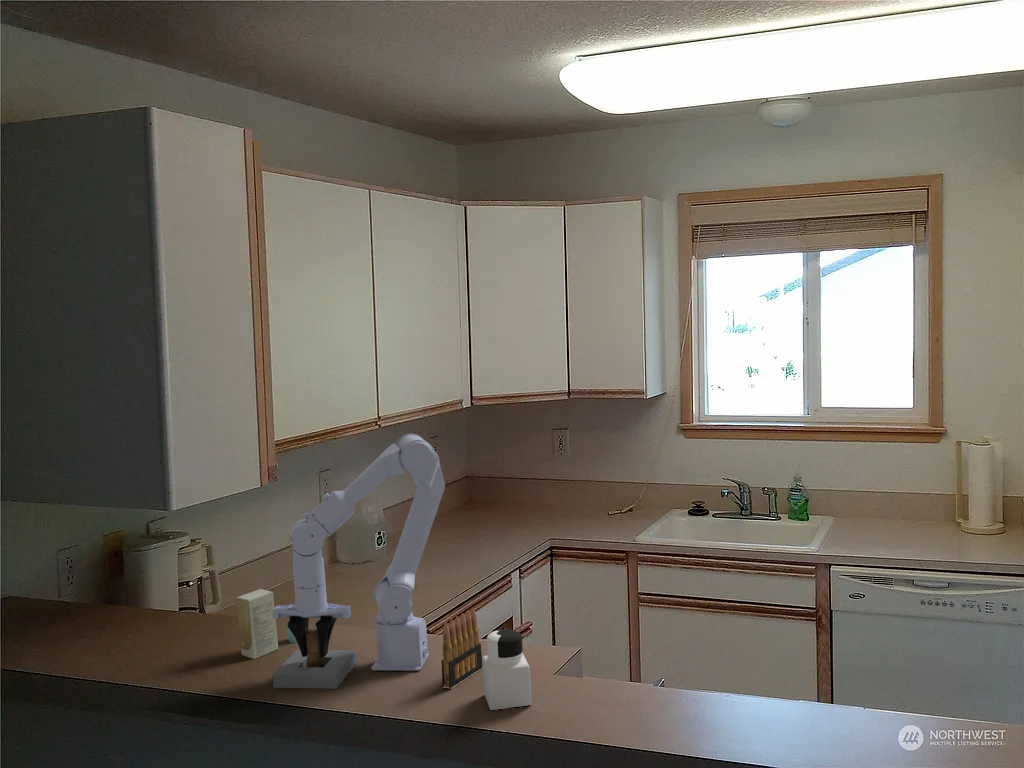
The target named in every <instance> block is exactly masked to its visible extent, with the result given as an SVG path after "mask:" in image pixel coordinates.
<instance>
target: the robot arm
mask: <svg viewBox="0 0 1024 768" xmlns="http://www.w3.org/2000/svg"><path fill="white" fill-rule="evenodd" d="M404 468H405V469H406V470H407V471H408V472H409V473H410V476H411V477H412V480H413V481H414V483H415V485H416V487H417V488H416V492H415V494H414V497H413V500H412V503H411V505H410V509H409V512H408V514H407V517H406V520H405V523H404V526H403V528H402V532H401V535H400V537H399V540H398V544H397V546H396V549H395V551H394V552H395V553H394V555H393V558H392V561H391V563H390V565H389V566H388V568H387V569H386V571H385V573H384V575H383V577H382V579H381V580H380V581H379V582H378V583H377V585H376V586H375V588H374V591H373V598H374V601H375V603H376V605H377V607H378V610H377V613H376V614H375V617H374V623H375V636H376V637H375V638H376V639H375V640H376V650H377V651H376V652H377V653H376V654H377V655H376V656H377V659H376V661H375V662H374V663H373V665H372V666H371V668H370V669H371V671H404V672H405V671H407V672H408V671H412V672H413V671H415V672H418V671H420V670H421V669H422V667H423V666H424V665H425V662H426V661H427V660H428V658H429V656H430V654H429V649H428V648H429V647H428V633H427V631H428V630H427V622H426V620H425V618H422V617H417V616H414V613H413V606H414V605H413V593H414V590H415V580H416V578H415V577H416V572H417V570H418V567H419V565H420V562H421V559H422V557H423V556H422V555H423V552H424V550H425V548H426V544H427V541H428V538H429V535H430V532H431V529H432V526H433V523H434V521H435V517H436V515H437V511H438V509H439V505H440V502H441V499H442V497H443V494H444V491H445V487H446V485H445V480H444V476H443V473H442V472H443V471H442V468H441V464H440V457H439V455H438V453H437V452H436V450H435V449H434V447H433V446H432V445H431V444H430V443H429V442H428V441H426V440H425V439H424V438H423V437H422V436H420V435H418V434H416V433H407V434H404V435H402V436H401V437H399V439H398V440H397V441H396V443H392V444H390V445H389V446H388V447H387V448H386V449H385V450H383V452H381V453H380V454H379V456H377V457H376V458H375V459H374V461H373V462H372V463H370V464H369V465H368V467H366V468H365V469H364V470H363V471H362V472H361V473H360V474H359V475H358V476H357V477H356V478H355V479H354V480H353V481H352V482H350V484H349V485H348V486H347V487H346V488H345V489H344V490H333V491H332V492H331V493H330V494H329V493H328V492H326V493H324V495H323V496H322V497H321V498H322V501H321V502H320V503H319V504H318V505H317V506H315V507H314V508H313V509H312V510H311V511H310V512H309V513H308V512H306V513H304V514H303V515H302V517H303V519H299V520H298V521H297V522H295V523H294V524H293V525H292V527H291V530H290V534H289V539H290V543H291V546H292V550H293V551H292V558H293V560H292V574H293V586H294V600H295V604H286V605H276V606H274V609H273V618H274V619H276V620H278V619H279V620H280V619H281V618H282V619H285V618H286V619H288V618H289V620H288V622H287V625H288V626H287V625H286V626H287V629H288V628H289V629H290V630H291V632H292V633H293V635H294V637H295V639H296V641H297V645H298V647H299V650H300V651H301V654H302V657H306V656H307V649H306V635H305V632H306V631H307V630H309V621H310V619H311V618H312V619H314V618H315V619H317V618H318V620H317V621H316V623H315V627H316V629H317V631H318V636H319V644H320V656H321V657H325V656H326V655H327V653H328V650H329V644H330V640H331V636H332V632H333V629H334V626H335V624H336V621H337V619H342V620H348V619H349V618H350V617H351V616H352V610H351V605H343V604H342V605H341V604H336V603H328V600H327V597H328V596H327V586H326V585H327V583H326V574H325V573H326V571H325V560H324V557H323V549H322V548H323V547H324V544H325V539H326V538H329V537H330V536H332V535H333V534H335V532H336V531H337V530H338V529H340V527H341V526H342V525H343V524H345V522H347V521H348V520H349V519H350V518H351V517H352V516H353V515H354V514H355V510H356V504H357V503H358V502H359V501H360V500H361V499H363V498H364V497H365V496H366V495H367V494H368V493H370V492H371V491H372V490H373V489H374V488H375V487H377V486H378V485H379V484H380V483H382V481H384V480H386V478H387V477H390V476H391V477H392V476H393V477H394V476H399V475H405V472H404V470H403V469H404Z"/></svg>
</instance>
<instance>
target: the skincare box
mask: <svg viewBox="0 0 1024 768" xmlns="http://www.w3.org/2000/svg"><path fill="white" fill-rule="evenodd" d="M235 599H236V609H237V620H238V630H239V639H240V651H241V655H242V656H244V657H247V658H249V659H253V660H255V659H258V658H260V657H262V656H264V655H268V654H270V653H272V652H274V651H276V650H279V642H278V629H277V622H276V621H277V619H274V618H273V609H274V608H275V599H274V591H270V590H266V589H262V588H259V589H256V590H254V591H251V592H247V593H244V594H243V595H239V596H236V598H235Z"/></svg>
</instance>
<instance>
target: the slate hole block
mask: <svg viewBox="0 0 1024 768" xmlns="http://www.w3.org/2000/svg"><path fill="white" fill-rule="evenodd" d="M323 658H324V668H321V667H308V663H307V656H306V657H302V654H301V651H300V649H296V650H295V651H294V652H293V654H291V655H290V656H289V657H288V659H286V661H284V662H283V663H282V665H281V666H279V667H278V668H277V670H276V671H274V672H273V674H272V684H273V687H272V688H273V689H330V690H331V689H333V690H334V689H338V687H339V686H340V685H341V684H342V683H343V681H344V680H345V679H346V677H347V676H348V675H349V674H348V673H351V671H352V670H353V668H354V667H355V666H356V665H357V663H358V662H357V661H358V660H357V659H358V658H357V650H356V649H355V650H343V649H342V650H339V649H337V650H335V649H334V650H333V649H331V650H329V649H328V653H327V655H326V656H325V657H323ZM355 664H356V665H355ZM354 665H355V666H354ZM351 669H352V670H351ZM347 674H348V675H347ZM344 678H345V679H344ZM340 683H341V684H340Z"/></svg>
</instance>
